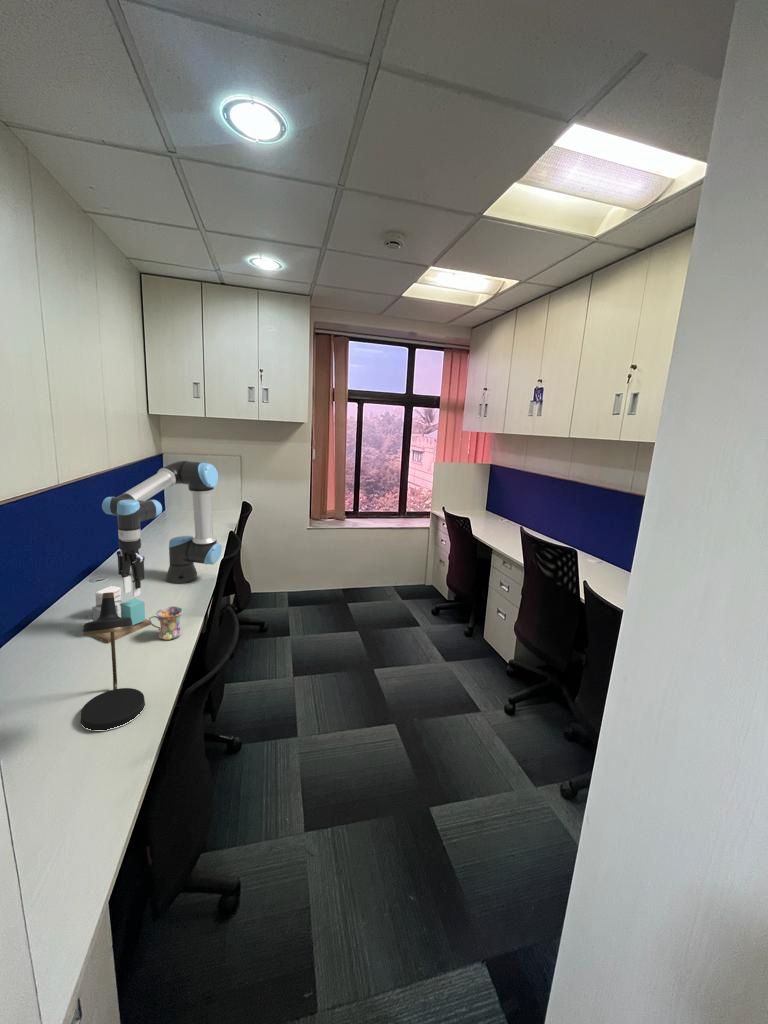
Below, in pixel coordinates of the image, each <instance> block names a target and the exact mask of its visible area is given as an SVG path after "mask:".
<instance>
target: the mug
mask: <svg viewBox="0 0 768 1024" xmlns="http://www.w3.org/2000/svg"><path fill="white" fill-rule="evenodd" d="M183 611H184V610H183V608H182V607H178V606H166V607H162V608H160V609H159V610H157V612H156V615H152V616H150V617H149V618H148V620H149V622H150V624H151V625H150V626H152V627H154V628H156V629H158V630H157V631H158V638H159V639H162V640H173V639H176V638H179V637H180V636H181V635H182V633H183V630H182V629H181V627H180V626H181V625H180V621H181V616H182V615H183ZM152 618H153V619H154V618H156V619H158V621H159V622H160V623H159V624H160V626H157V625H155V624H154V623H153V622H152V620H151V619H152Z"/></svg>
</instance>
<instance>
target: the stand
mask: <svg viewBox="0 0 768 1024" xmlns="http://www.w3.org/2000/svg"><path fill="white" fill-rule="evenodd" d="M91 608H92V609H91V610H92V621H96V620H97V619H98V618H99V617H100V612H101V604H100V605H97V606H96V605H95V606H92V607H91ZM115 608H116V614H117V616H119V614H118V609H117V605H115ZM149 626H152V625H151V624H150V622H149V619H147V618H145V620H144V621H142V622H140V623H137V624H135V625H133V627H134V628H133V629H128V630H122V631H116V632H114V635H115V641H116V640H119V639H120V638H123V637H125V636H127V635H130V634H133V633H134V632H136V631H140V630H141V629H144V628H146V627H149ZM90 636H91V637H94V638H95V639H97V640H101V641H102V642H105V643H107V644H111V635H110V632H109V633H101V634H93V635H90Z"/></svg>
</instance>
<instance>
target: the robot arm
mask: <svg viewBox="0 0 768 1024" xmlns="http://www.w3.org/2000/svg"><path fill="white" fill-rule="evenodd" d="M218 481H219V474H218V470H217V469H216V467H215V466H214V465H213V464H212V463H207V462H202V461H201V462H200V461H189V460H179V461H175V462H173V463H170V464H167V465H165V466H163V467H161V468H159V469H158V471H157V473H156V474H154V475H152V476H150V477H148V478H147V479H145V480H144V481H142V482H141V483H138V484H137V485H136V486H133V487H132V488H130V489H128V490H127V491H125V492H124V493H122V494H120V495H118V496H116V497H115V496H107V497H105V498H104V499H103V501H102V504H101V509H102V511H103V512H104V513H105V514H106V515H109V516H110V515H112V516H115V517H117V532H118V533H117V534H118V539H119V540H118V549H119V550H118V551H116V555H117V569H118V571H117V572H118V575H119V576H120V575H121V578H122V584H123V585H122V586H123V594H127V593H129V592H130V593H131V592H132V597H137V596H140V595H141V587H142V585H141V581H144V580H145V556H144V555H140V552H139V550H140V549H141V548H142V539H141V537H142V535H141V534H142V533H141V532H142V531H141V522H144V521H148V520H150V519H155V518H157V517H159V516H160V515H161V514H162V512H163V506H162V504H161V502H160V501H158V500H156V499H151V498H152V497H154V496H155V495H158V493H160V492H161V491H163V490H165V489H166V488H168V487H173V486H175V485H178V484H179V485H188V486H187V487H188V491H189V492H191V493H192V494H191V495H192V496H191V497H192V507H193V520H194V521H193V523H194V533H195V537H194V536H192V535H180V536H175V537H172V538H171V539H170V540H169V541H168V557H169V562H168V563H169V566H168V569H167V573H166V575H165V578H166V579H165V580H166V581H167V582H168V583H171V584H186V583H187V584H188V583H191V582H193V581H196V579H198V572H197V569H196V567H195V564H203V565H215V564H216V563H217V562H218V561H219V560H220V558H221V555H222V551H223V549H222V548H223V546H222V544H221V543H219V542H218V541H217V540H218V539H217V537H216V536H215V535H214V526H213V523H214V522H213V509H212V508H213V507H212V492H213V491H214V489H215V487H216V486H217V485H218ZM194 563H195V564H194ZM130 571H131V573H132V574H131V573H130ZM131 575H132V577H131ZM132 578H133V580H132Z"/></svg>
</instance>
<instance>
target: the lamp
mask: <svg viewBox="0 0 768 1024" xmlns="http://www.w3.org/2000/svg"><path fill="white" fill-rule="evenodd" d="M82 628H83V629H82V633H81V634H80V636H81V637H82V636H84V637H85V636H91V635H93V634H101V633H109V632H110V635H111V642H110V649H111V663H112V664H111V667H112V689H110V690H107V691H105V692H103V693H100V694H98V695H96V696H94V697H93V698H91V699H90V700H89V701H88V702H86V703H85V704H84V705H83V706H82V708H81V711H80V715H79V716H80V725H81V724H82V725H83V726H84V727H85V728H88V729H91V730H107V729H110V728H114V727H117V726H120V725H123V724H125V723H127V722H129V721H130V720H132V719H134V718H135V717H136V716H137V715H138V714H140V712H141V711H142V710H143V708H144V706H145V707H146V702H145V701H146V700H145V695H144V694H143V692H142V691H140V690H139V689H137V688H129V687H122V688H118V674H117V657H116V656H117V655H116V640H115V635H114V632H116V631H122V630H128V629H133V628H134V627H133V624H132V619H131V618H130V617H121V616H119V615H118V616H117V614H116V608H115V600H114V593H113V592H109V593H103V596H102V604H101V612H100V617H99V618H98V619H97V620H96V621H93V620H92V621H88V622H85V623H83V626H82ZM144 709H145V708H144ZM143 711H144V710H143ZM140 715H141V714H140ZM82 725H81V726H82ZM83 726H82V727H83ZM84 727H83V728H84ZM85 728H84V729H85Z"/></svg>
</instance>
